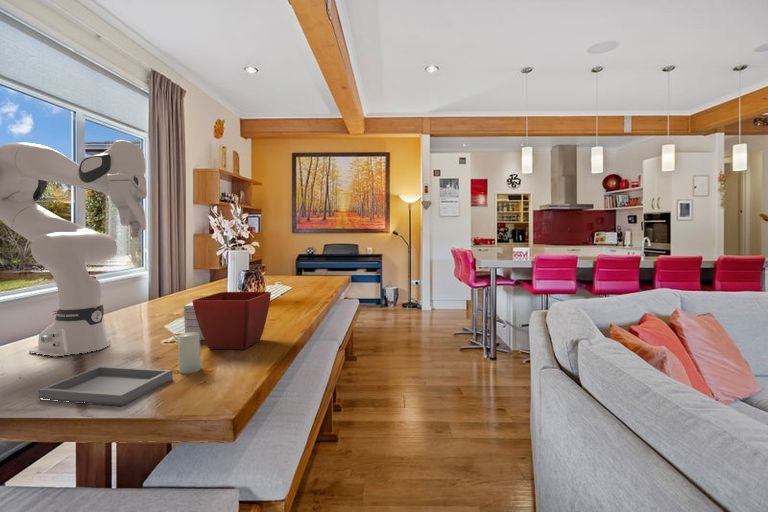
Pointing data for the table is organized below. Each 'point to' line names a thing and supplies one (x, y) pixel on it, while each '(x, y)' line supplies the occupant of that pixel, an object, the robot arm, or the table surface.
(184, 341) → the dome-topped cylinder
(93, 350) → the robot arm
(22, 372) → the table surface
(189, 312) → the supplement box
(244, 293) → the plant pot
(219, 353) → the table surface
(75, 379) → the grey tray
